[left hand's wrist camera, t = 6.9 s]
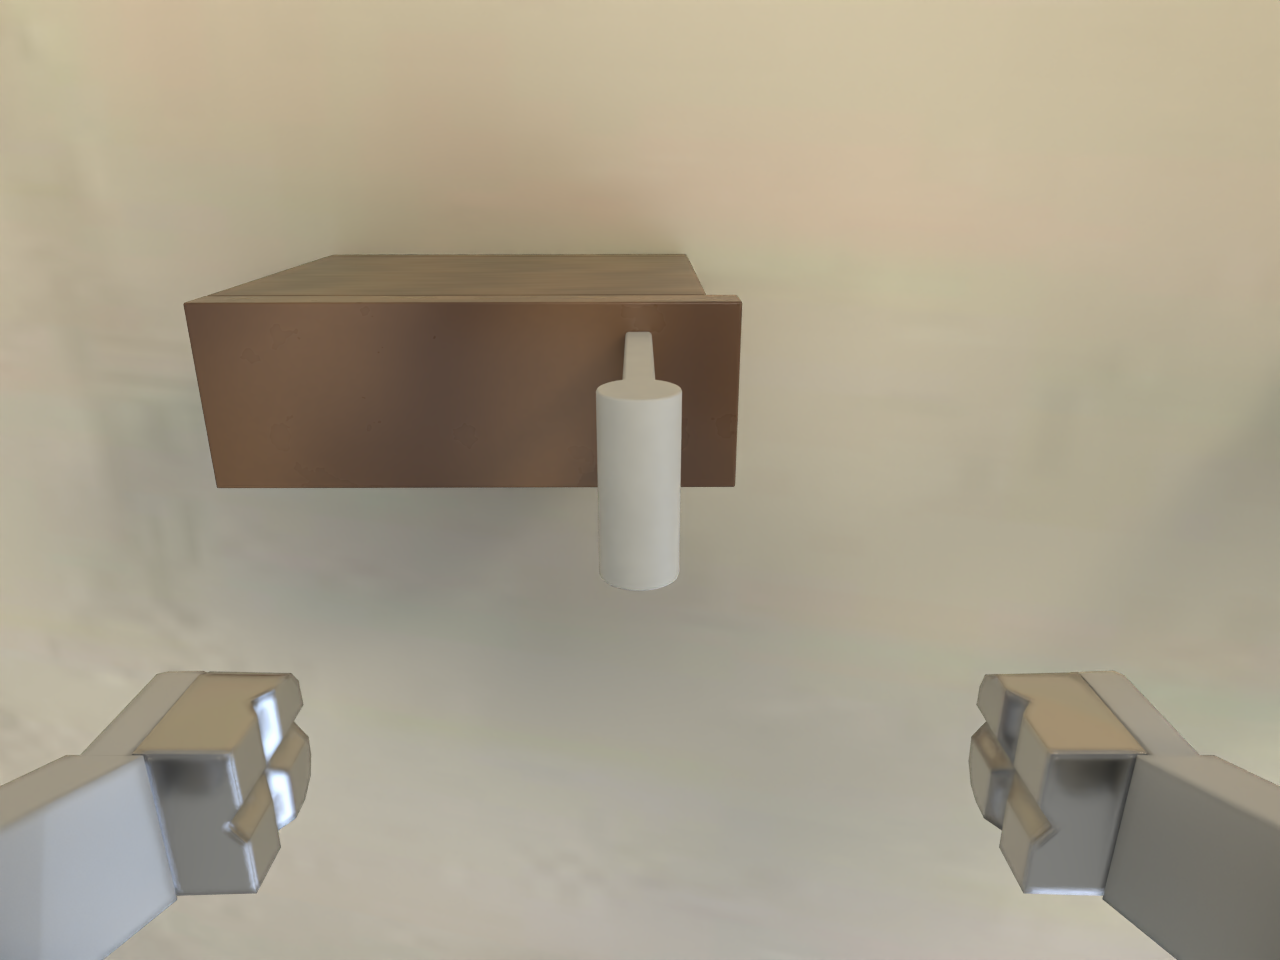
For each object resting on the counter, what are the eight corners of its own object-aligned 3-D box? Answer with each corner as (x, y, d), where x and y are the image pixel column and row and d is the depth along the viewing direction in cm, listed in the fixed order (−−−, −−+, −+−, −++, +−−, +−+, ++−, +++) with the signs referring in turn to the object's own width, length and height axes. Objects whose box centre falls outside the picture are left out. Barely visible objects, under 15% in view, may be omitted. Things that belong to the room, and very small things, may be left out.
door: (737, 294, 24) (788, 366, 16) (730, 472, 26) (774, 619, 18) (204, 296, 24) (-20, 367, 16) (234, 474, 26) (49, 621, 18)
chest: (686, 253, 34) (707, 294, 24) (684, 384, 36) (702, 472, 26) (331, 254, 34) (204, 295, 24) (347, 385, 36) (235, 473, 26)
